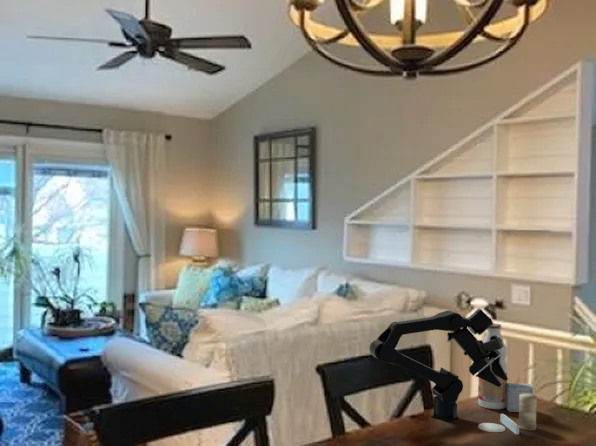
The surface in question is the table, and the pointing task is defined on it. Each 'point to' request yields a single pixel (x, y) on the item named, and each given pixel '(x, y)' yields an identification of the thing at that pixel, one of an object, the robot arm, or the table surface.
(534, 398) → the birch cylinder
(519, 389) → the medicine box
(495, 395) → the fruit juice
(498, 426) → the pad
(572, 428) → the table surface
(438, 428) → the table surface
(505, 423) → the acrylic wall
